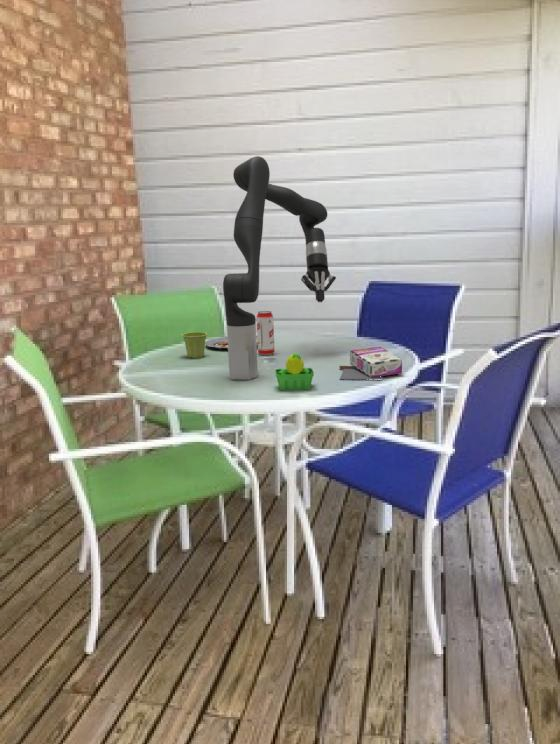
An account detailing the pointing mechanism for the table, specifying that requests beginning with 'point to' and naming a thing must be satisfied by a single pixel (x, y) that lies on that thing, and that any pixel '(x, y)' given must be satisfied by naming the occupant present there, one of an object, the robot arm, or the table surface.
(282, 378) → the fruit basket
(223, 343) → the food plate
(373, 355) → the candy bar box
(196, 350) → the plant pot
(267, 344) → the beer can
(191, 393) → the table surface
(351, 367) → the strip
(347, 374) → the mat
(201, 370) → the table surface
